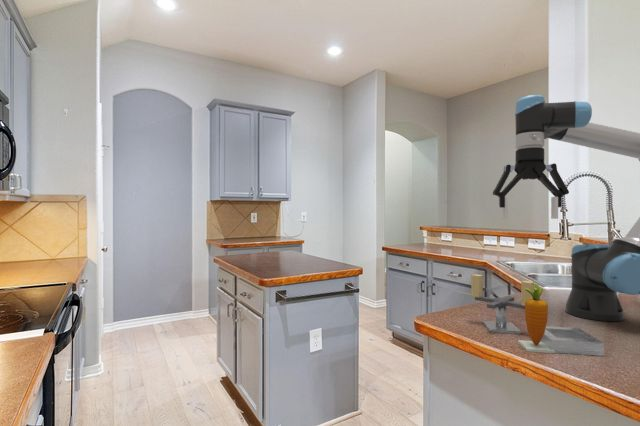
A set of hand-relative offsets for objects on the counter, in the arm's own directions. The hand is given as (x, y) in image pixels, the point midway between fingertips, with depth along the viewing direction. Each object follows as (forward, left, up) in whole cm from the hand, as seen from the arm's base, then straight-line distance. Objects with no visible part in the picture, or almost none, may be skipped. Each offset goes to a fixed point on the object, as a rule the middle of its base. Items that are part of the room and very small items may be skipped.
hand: (529, 218), depth 107 cm
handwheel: (+10, +7, -25) cm, 28 cm away
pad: (+6, +21, -32) cm, 38 cm away
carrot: (+6, +21, -31) cm, 38 cm away
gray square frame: (-2, +18, -32) cm, 37 cm away
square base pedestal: (+10, +7, -32) cm, 34 cm away
